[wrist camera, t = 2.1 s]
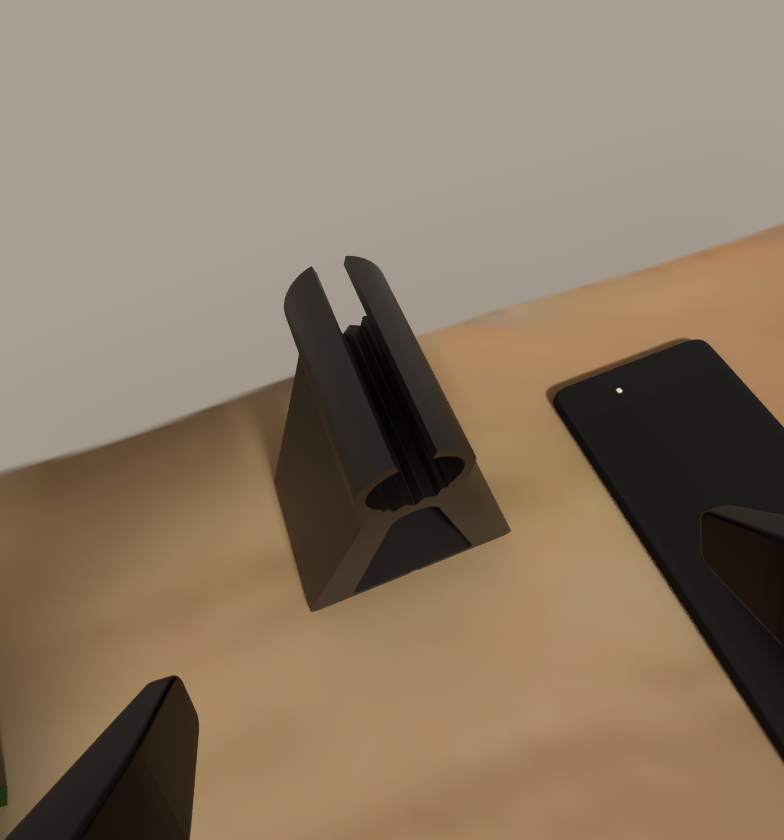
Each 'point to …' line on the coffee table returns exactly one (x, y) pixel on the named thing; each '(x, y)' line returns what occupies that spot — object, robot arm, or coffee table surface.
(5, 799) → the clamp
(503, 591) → the coffee table surface
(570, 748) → the coffee table surface
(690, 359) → the cell phone
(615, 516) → the coffee table surface
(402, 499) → the phone stand
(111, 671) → the coffee table surface
